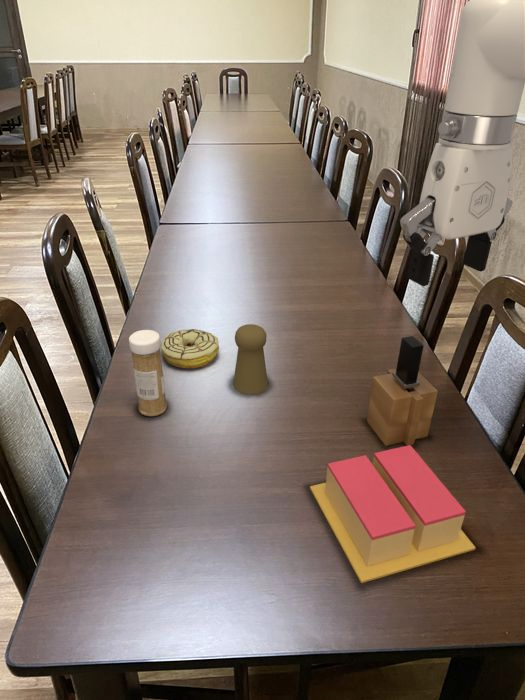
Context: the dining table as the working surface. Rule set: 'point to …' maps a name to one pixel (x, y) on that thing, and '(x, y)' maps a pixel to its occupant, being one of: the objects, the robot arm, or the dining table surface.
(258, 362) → the olive brown pawn
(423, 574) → the dining table surface
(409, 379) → the knife
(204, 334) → the decorated donut
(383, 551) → the cake
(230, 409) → the dining table surface
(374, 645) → the dining table surface
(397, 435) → the knife block
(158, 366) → the sprinkles bottle
